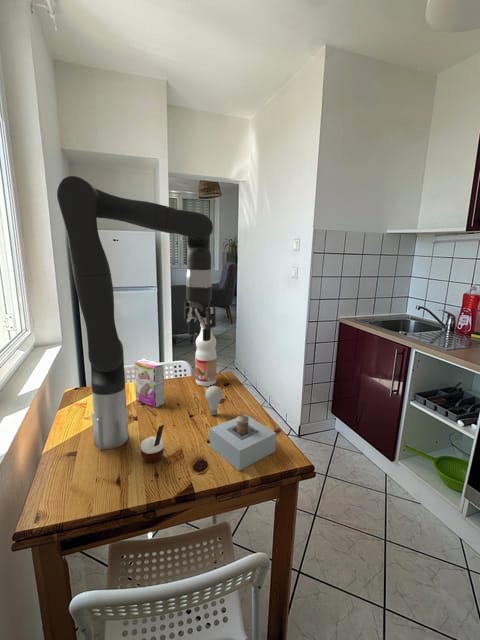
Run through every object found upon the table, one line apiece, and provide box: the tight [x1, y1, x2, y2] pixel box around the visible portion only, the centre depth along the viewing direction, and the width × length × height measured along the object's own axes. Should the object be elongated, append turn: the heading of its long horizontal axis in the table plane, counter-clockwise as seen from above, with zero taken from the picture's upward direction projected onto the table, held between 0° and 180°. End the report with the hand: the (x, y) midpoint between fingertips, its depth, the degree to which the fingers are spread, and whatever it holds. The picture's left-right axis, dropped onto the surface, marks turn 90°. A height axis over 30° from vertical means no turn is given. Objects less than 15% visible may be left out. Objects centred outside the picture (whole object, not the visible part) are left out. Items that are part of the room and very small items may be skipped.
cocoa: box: [139, 424, 165, 463], centre depth 88 cm, size 10×6×12 cm, turn 26°
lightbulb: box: [204, 385, 223, 416], centre depth 113 cm, size 6×6×11 cm
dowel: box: [236, 414, 249, 436], centre depth 94 cm, size 3×3×10 cm
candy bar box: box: [134, 358, 165, 409], centre depth 121 cm, size 11×5×16 cm, turn 58°
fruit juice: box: [194, 322, 218, 387], centre depth 140 cm, size 9×9×28 cm
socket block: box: [209, 413, 277, 471], centre depth 94 cm, size 14×14×6 cm
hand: (198, 337), depth 97 cm, fingers open, 8 cm apart
